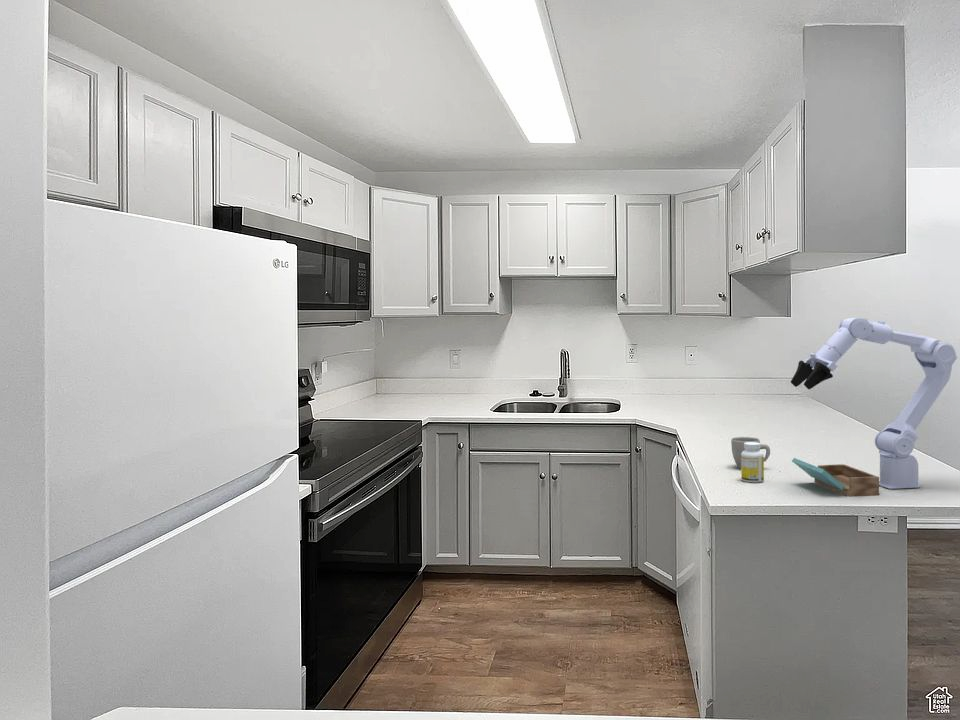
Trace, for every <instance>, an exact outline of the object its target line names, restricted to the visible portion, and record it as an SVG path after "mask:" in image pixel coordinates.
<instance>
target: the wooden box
mask: <svg viewBox="0 0 960 720" xmlns="http://www.w3.org/2000/svg"><path fill="white" fill-rule="evenodd" d="M817 467H819V468H821V469H824V470H825V471H826V472H828V473H829V474H830V475H831V476H833V477H834V478H835V479H836V480H837V481H839V482H840V483H841V484H842V485H844V486H845V487H846V490H841V489H838V488H836V487H834V486H831V485H829V484H827V483H824V482H822V481H820V480H817V479H815V478H814V482H815V483H816V484H819V485H821V486H823V487H825V488H828V489H829V490H832V491H835V492H837V493H838V494H842V495H844V496H846V497H863V496H866V497H867V496H879V495H880V485H879V481H880V476H877V475H875V474H872V473H869V472H866V471H865V470H860V469H857V468H855V467H852V466H849V465H847V464H843V463H840V464H825V465H824V464H819V465H818V464H817Z"/></svg>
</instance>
